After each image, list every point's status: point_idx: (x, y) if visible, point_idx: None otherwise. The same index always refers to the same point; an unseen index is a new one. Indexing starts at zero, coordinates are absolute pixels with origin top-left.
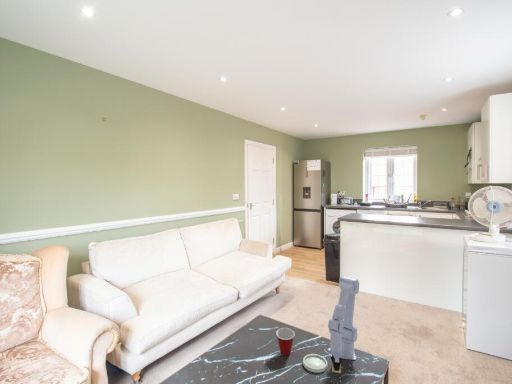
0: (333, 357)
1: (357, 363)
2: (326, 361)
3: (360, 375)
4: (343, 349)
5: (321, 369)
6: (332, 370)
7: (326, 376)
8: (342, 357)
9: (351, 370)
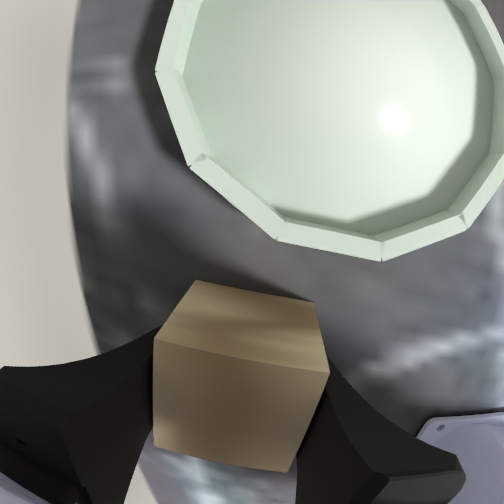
0: (36, 451)
1: None
2: (365, 250)
3: (185, 483)
4: (459, 494)
5: (177, 126)
6: (189, 293)
7: (110, 187)
8: (427, 434)
9: None
